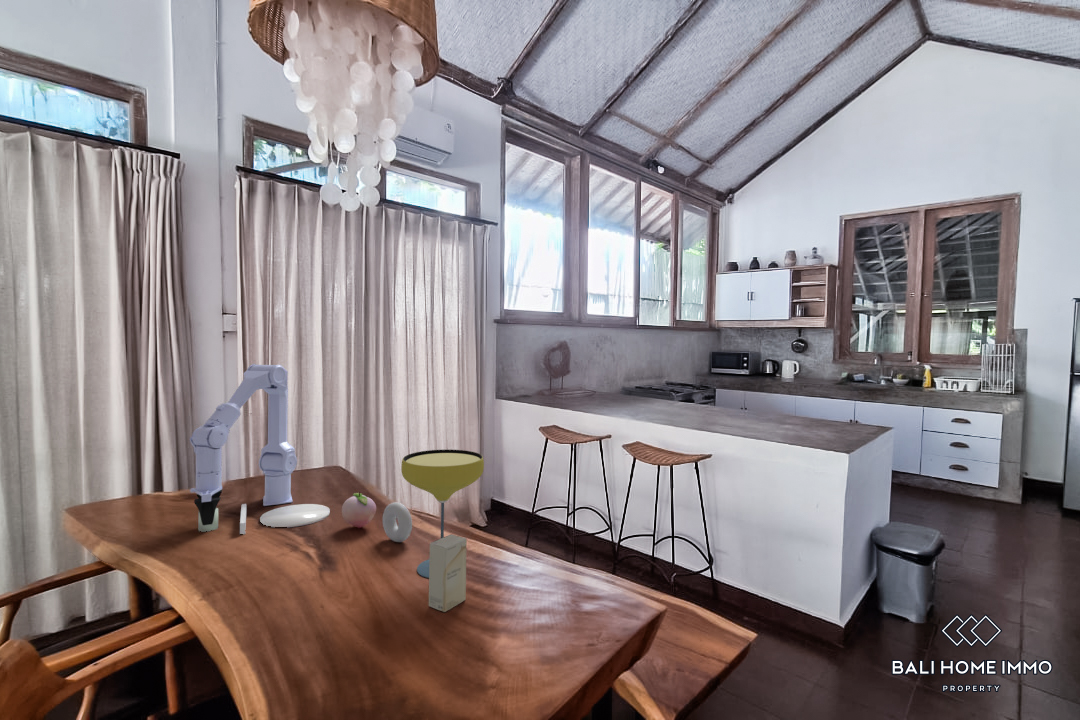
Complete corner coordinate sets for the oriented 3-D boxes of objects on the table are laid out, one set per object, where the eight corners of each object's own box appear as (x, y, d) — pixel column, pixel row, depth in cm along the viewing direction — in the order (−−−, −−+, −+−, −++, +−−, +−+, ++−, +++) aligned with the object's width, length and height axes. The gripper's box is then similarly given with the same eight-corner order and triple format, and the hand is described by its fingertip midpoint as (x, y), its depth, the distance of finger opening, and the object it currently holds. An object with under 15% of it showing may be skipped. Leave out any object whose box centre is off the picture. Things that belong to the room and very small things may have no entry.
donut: (379, 538, 125) (379, 500, 125) (390, 534, 128) (391, 497, 128) (403, 548, 119) (404, 508, 119) (414, 544, 122) (415, 504, 122)
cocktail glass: (395, 558, 114) (396, 451, 113) (470, 547, 121) (471, 447, 120) (406, 594, 97) (407, 469, 97) (492, 578, 104) (494, 463, 104)
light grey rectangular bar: (241, 514, 142) (241, 504, 142) (246, 513, 142) (246, 503, 142) (239, 534, 126) (240, 523, 126) (245, 534, 127) (245, 522, 127)
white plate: (259, 512, 144) (259, 509, 144) (325, 503, 153) (325, 500, 153) (260, 531, 128) (260, 528, 128) (333, 521, 137) (333, 518, 137)
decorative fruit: (335, 527, 132) (335, 491, 132) (363, 520, 138) (364, 485, 138) (351, 537, 126) (352, 498, 126) (380, 529, 132) (381, 492, 132)
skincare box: (444, 613, 90) (445, 548, 90) (427, 606, 93) (428, 543, 92) (466, 599, 96) (467, 538, 95) (449, 593, 98) (450, 533, 98)
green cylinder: (199, 527, 131) (199, 509, 131) (218, 524, 133) (218, 506, 133) (197, 532, 127) (197, 513, 127) (217, 529, 129) (217, 511, 129)
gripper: (193, 466, 134) (193, 515, 134) (187, 479, 122) (186, 532, 122) (223, 464, 138) (223, 511, 138) (220, 475, 125) (220, 528, 125)
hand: (208, 521), depth 130 cm, fingers closed on green cylinder, 4 cm apart
